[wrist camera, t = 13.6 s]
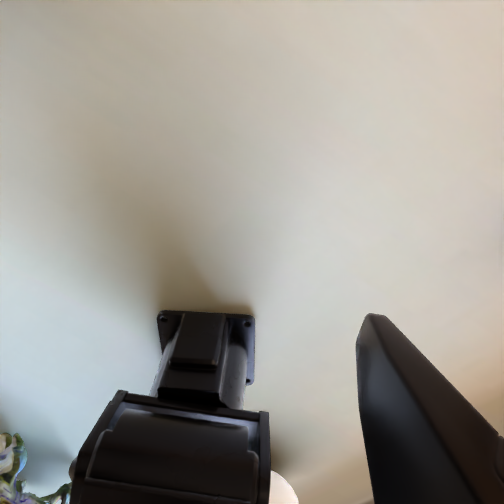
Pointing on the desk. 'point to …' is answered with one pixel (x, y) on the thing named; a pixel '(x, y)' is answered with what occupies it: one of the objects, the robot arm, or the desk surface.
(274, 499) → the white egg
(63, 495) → the passion flower
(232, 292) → the desk surface
